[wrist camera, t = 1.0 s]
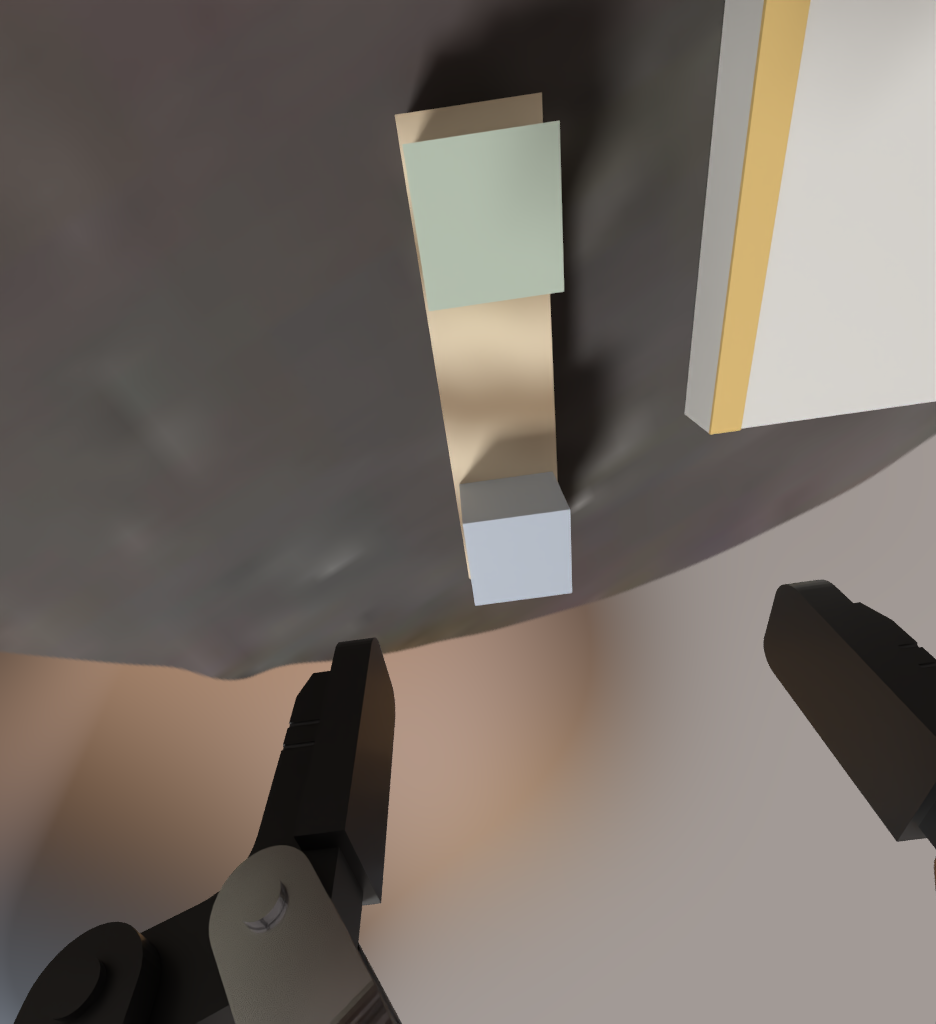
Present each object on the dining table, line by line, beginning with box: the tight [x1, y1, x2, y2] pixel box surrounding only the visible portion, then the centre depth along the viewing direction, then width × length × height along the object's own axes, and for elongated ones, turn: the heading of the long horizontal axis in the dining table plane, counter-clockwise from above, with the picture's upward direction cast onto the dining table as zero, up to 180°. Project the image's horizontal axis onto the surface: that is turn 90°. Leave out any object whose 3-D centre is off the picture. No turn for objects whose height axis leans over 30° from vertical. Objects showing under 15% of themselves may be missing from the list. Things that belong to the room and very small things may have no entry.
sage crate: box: [402, 120, 564, 311], centre depth 19 cm, size 5×5×4 cm
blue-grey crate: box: [459, 471, 572, 606], centre depth 26 cm, size 5×5×4 cm
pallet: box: [395, 92, 558, 579], centre depth 26 cm, size 22×6×4 cm, turn 7°
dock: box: [685, 0, 936, 434], centre depth 21 cm, size 25×12×3 cm, turn 7°
